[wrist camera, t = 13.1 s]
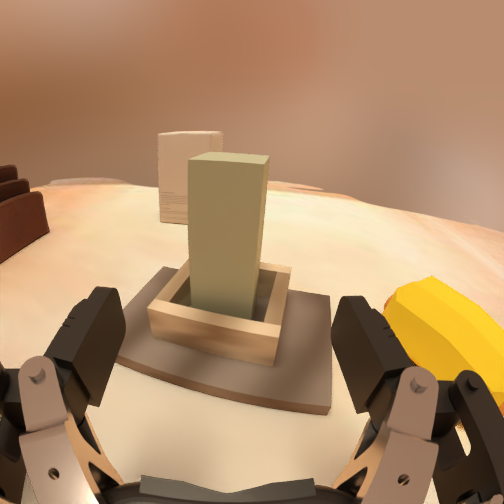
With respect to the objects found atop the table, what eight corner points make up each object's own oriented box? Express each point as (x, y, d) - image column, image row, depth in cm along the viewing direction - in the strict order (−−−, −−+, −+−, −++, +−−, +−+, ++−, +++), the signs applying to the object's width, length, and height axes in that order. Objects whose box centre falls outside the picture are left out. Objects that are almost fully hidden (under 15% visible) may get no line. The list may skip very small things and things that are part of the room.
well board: (97, 353, 18) (81, 314, 16) (164, 275, 30) (161, 241, 28) (326, 415, 15) (345, 380, 14) (327, 305, 27) (336, 270, 25)
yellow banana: (472, 452, 10) (506, 404, 13) (530, 400, 7) (547, 353, 10) (356, 322, 25) (403, 305, 27) (377, 264, 22) (423, 254, 24)
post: (193, 328, 21) (187, 159, 15) (207, 296, 25) (209, 151, 19) (248, 337, 21) (264, 164, 15) (255, 303, 25) (269, 156, 19)
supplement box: (221, 210, 51) (225, 131, 44) (209, 227, 43) (212, 132, 36) (177, 206, 52) (177, 130, 45) (158, 222, 44) (156, 133, 37)
